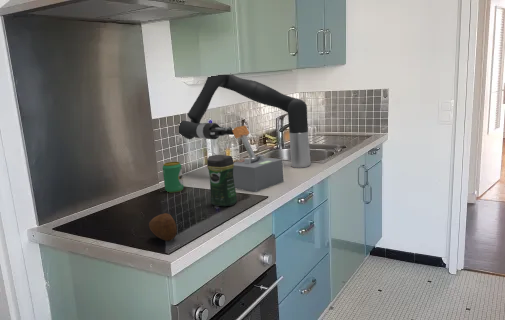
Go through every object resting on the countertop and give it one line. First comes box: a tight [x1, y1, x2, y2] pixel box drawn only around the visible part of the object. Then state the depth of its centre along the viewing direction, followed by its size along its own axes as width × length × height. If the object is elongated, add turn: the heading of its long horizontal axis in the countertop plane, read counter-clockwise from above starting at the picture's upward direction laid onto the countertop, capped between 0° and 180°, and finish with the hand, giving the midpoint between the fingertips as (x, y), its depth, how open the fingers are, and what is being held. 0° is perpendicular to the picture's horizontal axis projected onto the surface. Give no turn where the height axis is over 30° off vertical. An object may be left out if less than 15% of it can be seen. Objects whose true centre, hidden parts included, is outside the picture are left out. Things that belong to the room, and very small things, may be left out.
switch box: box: [233, 154, 285, 193], centre depth 182 cm, size 18×16×12 cm
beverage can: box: [162, 161, 184, 194], centre depth 182 cm, size 8×8×12 cm
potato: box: [148, 212, 178, 242], centre depth 126 cm, size 7×10×8 cm
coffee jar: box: [206, 154, 238, 207], centre depth 156 cm, size 10×8×19 cm
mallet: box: [232, 125, 260, 163], centre depth 182 cm, size 6×3×16 cm
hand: (234, 132), depth 186 cm, fingers closed
